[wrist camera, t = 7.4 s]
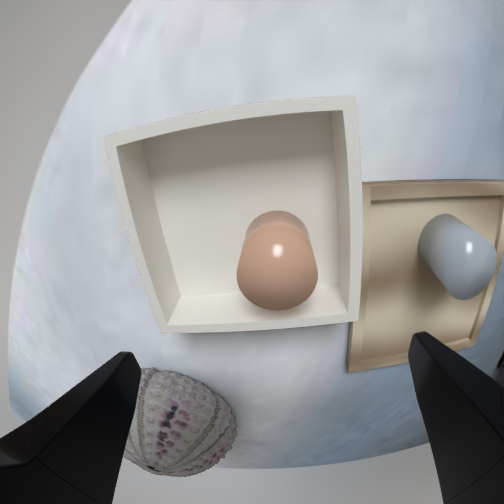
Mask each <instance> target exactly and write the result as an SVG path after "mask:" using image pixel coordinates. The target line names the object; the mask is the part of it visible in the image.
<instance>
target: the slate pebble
mask: <svg viewBox="0 0 504 504" xmlns="http://www.w3.org/2000/svg"><path fill="white" fill-rule="evenodd" d="M418 251H419V254H420V257H421V259H422V260H423V261H424V262H425V264H426V265H427V266H428V267H429V268H430V269H431V271H432V272H433V273H434V274H435V275H436V277H437V278H438V279H439V280H440V281H441V283H442V284H443V285H444V286H445V288H446V289H447V290H448V291H449V293H450V294H451V295H452V296H453V297H454V298H456V299H458V300H468V299H471V298H473V297H475V296H477V295H478V294H479V293H481V292H482V291H483V290H484V289H485V288H486V286H487V285H488V284H489V282H490V281H491V279H492V277H493V275H494V272H495V269H496V265H497V253H496V250H495V248H494V246H493V245H492V244H491V243H490V242H489V241H488V240H486V239H485V238H484V237H482V236H481V235H480V234H479V233H477V232H476V231H474V230H473V229H472V228H470V227H469V226H468V225H466V224H465V223H463V222H462V221H461V220H459V219H458V218H456V217H455V216H453V215H451V214H440V215H437V216H435V217H434V218H432V219H431V220H430V221H429V222H428V223H427V224H426V225H425V227H424V228H423V230H422V232H421V234H420V237H419V242H418Z"/></svg>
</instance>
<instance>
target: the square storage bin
mask: <svg viewBox="0 0 504 504" xmlns="http://www.w3.org/2000/svg"><path fill="white" fill-rule="evenodd" d="M104 143H105V148H106V153H107V158H108V163H109V167H110V172H111V176H112V180H113V185H114V189H115V193H116V197H117V201H118V205H119V208H120V212H121V216H122V219H123V223H124V226H125V230H126V233H127V237H128V240H129V243H130V247H131V250H132V253H133V256H134V259H135V263H136V266H137V269H138V272H139V275H140V278H141V281H142V283H143V286H144V289H145V292H146V295H147V297H148V300H149V303H150V306H151V308H152V311H153V314H154V316H155V319H156V321H157V324H158V326H159V329H160V331H161V333H208V332H235V331H254V330H269V329H283V328H295V327H306V326H316V325H326V324H335V323H344V322H352V321H358V319H359V307H360V293H361V275H362V244H363V203H362V173H361V155H360V141H359V129H358V119H357V109H356V101H355V96H332V97H312V98H297V99H286V100H276V101H267V102H259V103H251V104H244V105H237V106H231V107H225V108H219V109H213V110H208V111H203V112H198V113H193V114H188V115H184V116H179V117H175V118H171V119H167V120H163V121H159V122H155V123H151V124H147V125H143V126H140V127H136V128H133V129H129V130H126V131H123V132H120V133H116V134H113V135H110V136H107V137H104ZM269 211H285V212H289V213H291V214H293V215H295V216H296V217H298V218H299V219H300V220H301V221H302V222H303V223H304V225H305V226H306V228H307V231H308V234H309V238H310V242H311V246H312V249H313V253H314V257H315V261H316V265H317V269H318V280H317V284H316V287H315V289H314V291H313V293H312V294H311V296H310V297H309V298H308V299H307V300H305V301H304V302H303V303H301V304H300V305H298V306H296V307H293V308H291V309H287V310H268V309H264V308H261V307H258V306H256V305H254V304H253V303H251V302H250V301H249V300H248V299H247V298H246V297H245V296H244V295H243V294H242V292H241V291H240V289H239V286H238V283H237V277H236V275H237V267H238V263H239V259H240V255H241V251H242V247H243V243H244V239H245V235H246V231H247V229H248V227H249V225H250V224H251V222H252V221H253V220H254V219H255V218H256V217H258V216H259V215H261V214H263V213H266V212H269Z"/></svg>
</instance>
